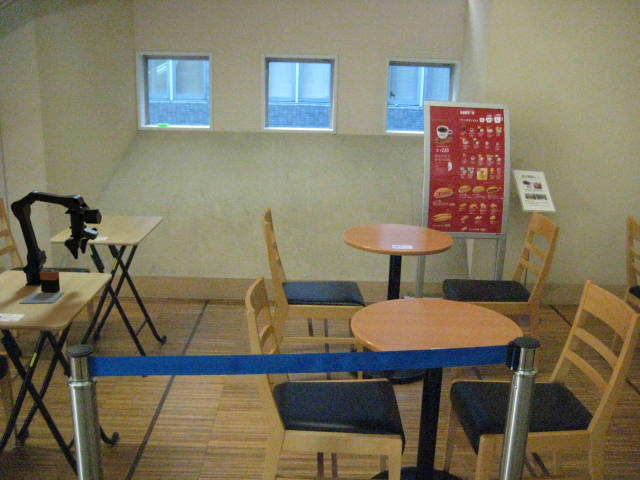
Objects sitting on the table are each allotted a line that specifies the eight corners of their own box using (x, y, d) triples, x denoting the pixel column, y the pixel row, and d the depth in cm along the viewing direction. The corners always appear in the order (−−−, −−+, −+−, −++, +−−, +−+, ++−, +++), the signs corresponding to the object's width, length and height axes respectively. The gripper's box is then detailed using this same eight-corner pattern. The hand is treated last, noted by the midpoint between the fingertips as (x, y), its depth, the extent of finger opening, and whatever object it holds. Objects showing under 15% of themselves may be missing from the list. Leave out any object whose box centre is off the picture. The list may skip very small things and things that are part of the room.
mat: (19, 303, 244) (19, 302, 244) (32, 293, 256) (32, 293, 256) (53, 303, 245) (52, 302, 245) (64, 293, 256) (64, 292, 256)
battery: (47, 289, 261) (45, 267, 260) (60, 290, 260) (59, 268, 258) (40, 291, 257) (39, 269, 256) (53, 293, 256) (52, 270, 254)
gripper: (88, 228, 254) (90, 262, 258) (102, 219, 272) (104, 251, 276) (62, 228, 253) (65, 262, 257) (78, 218, 271) (80, 250, 275)
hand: (80, 256), depth 266 cm, fingers open, 9 cm apart
